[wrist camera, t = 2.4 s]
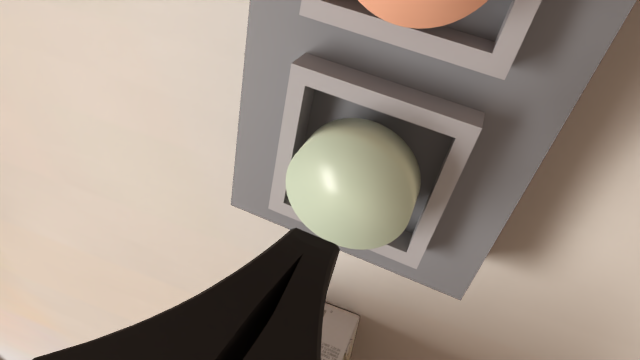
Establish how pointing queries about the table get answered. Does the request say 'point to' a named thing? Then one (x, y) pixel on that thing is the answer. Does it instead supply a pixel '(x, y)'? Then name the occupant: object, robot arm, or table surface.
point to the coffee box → (338, 333)
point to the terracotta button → (421, 11)
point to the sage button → (354, 183)
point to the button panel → (420, 111)
